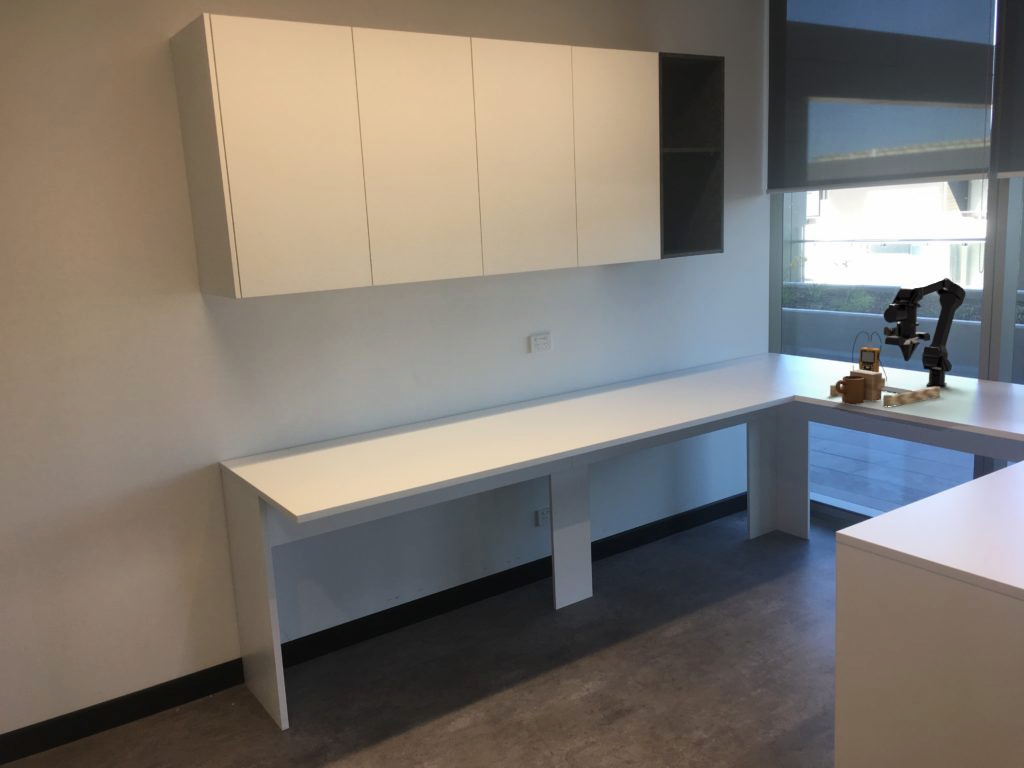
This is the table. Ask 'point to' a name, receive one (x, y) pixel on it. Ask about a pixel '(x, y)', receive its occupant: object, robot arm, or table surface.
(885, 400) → the channel
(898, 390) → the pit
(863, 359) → the multimeter
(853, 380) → the mug
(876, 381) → the wooden block
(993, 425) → the table surface
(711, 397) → the table surface
